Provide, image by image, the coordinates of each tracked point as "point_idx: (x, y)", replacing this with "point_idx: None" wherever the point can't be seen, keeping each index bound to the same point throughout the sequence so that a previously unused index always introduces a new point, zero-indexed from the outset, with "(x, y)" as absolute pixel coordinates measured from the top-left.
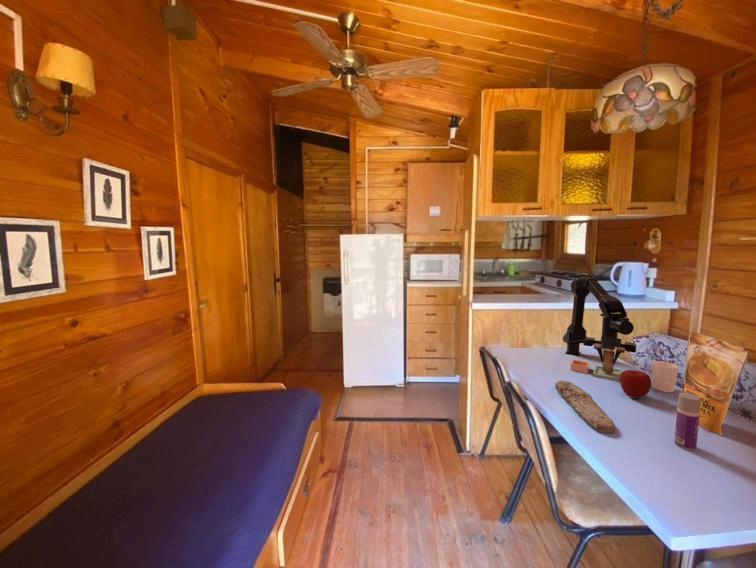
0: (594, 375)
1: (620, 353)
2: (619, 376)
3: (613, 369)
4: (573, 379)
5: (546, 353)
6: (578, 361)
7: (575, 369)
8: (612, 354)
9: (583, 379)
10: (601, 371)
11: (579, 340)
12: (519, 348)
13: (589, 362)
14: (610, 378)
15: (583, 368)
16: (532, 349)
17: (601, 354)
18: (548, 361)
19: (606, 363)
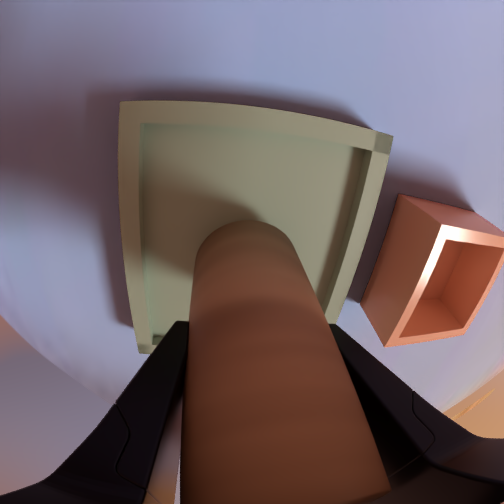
0: (372, 130)
1: (20, 492)
2: (135, 178)
3: None
4: (479, 52)
5: (455, 385)
6: (444, 327)
7: (470, 216)
8: (211, 476)
9: (435, 61)
10: None
11: None
12: (501, 369)
13: (387, 343)
14: (225, 103)
15: (449, 217)
16: (474, 386)
17: (403, 414)
18: (497, 309)
19: (289, 289)
